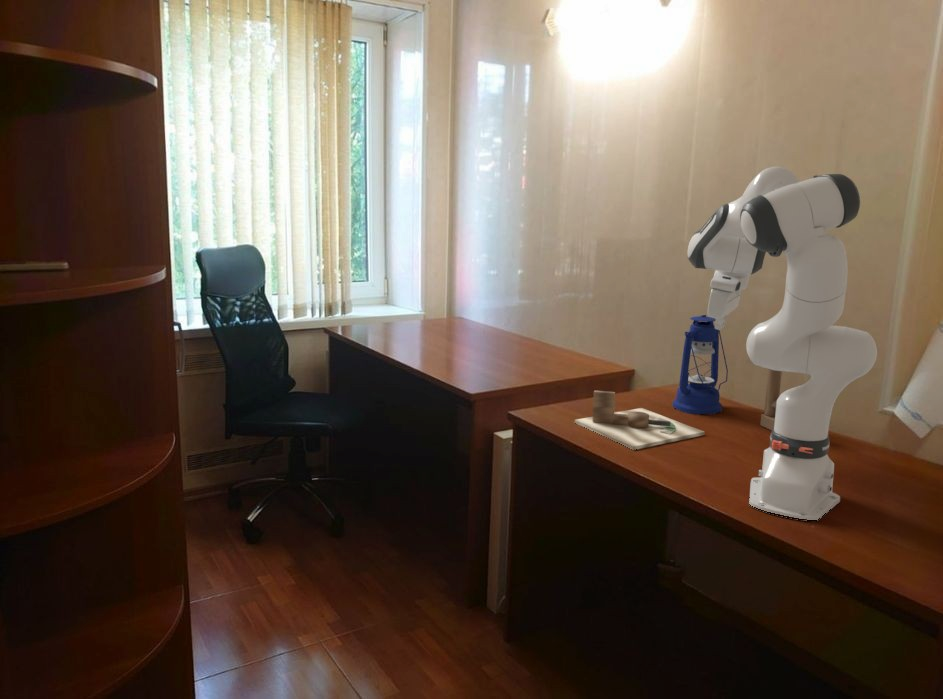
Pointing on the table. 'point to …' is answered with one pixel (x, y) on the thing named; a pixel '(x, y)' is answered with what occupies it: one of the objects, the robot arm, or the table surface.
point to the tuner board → (641, 431)
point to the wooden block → (771, 399)
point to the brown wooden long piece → (605, 413)
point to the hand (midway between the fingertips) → (718, 328)
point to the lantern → (701, 389)
